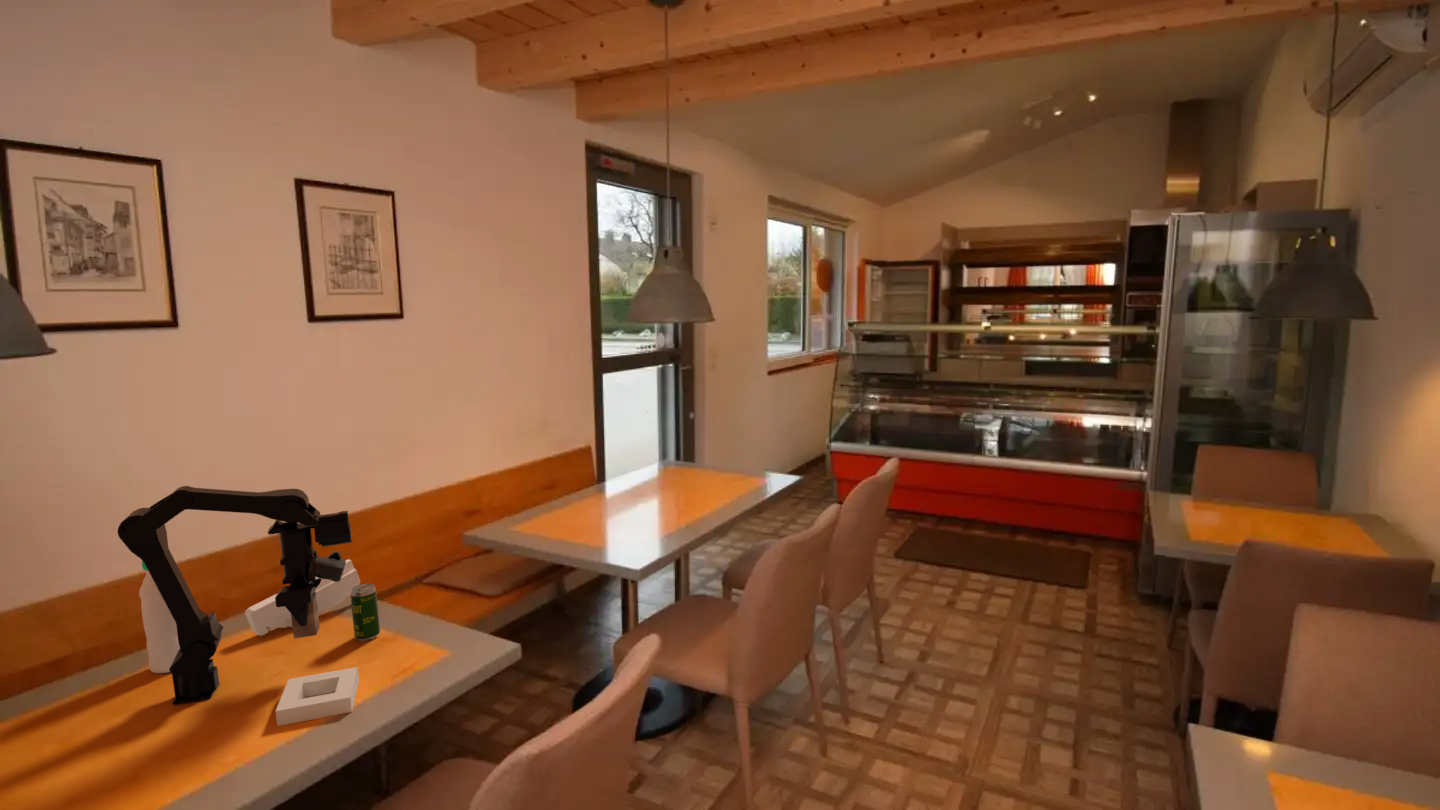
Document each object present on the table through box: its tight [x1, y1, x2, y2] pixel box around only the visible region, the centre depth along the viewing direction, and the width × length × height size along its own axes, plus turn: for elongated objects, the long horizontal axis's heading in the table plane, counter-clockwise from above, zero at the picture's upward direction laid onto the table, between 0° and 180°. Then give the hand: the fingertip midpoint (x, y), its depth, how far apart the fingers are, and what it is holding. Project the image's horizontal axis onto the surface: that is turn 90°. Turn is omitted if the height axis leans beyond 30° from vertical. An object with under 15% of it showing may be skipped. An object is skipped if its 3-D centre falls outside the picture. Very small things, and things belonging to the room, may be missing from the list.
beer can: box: [349, 583, 381, 642], centre depth 172 cm, size 5×5×12 cm
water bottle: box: [138, 560, 180, 674], centre depth 158 cm, size 7×7×25 cm
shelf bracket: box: [244, 559, 362, 637], centre depth 182 cm, size 6×25×13 cm, turn 143°
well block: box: [275, 666, 360, 727], centre depth 144 cm, size 12×12×3 cm
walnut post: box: [291, 587, 320, 640], centre depth 155 cm, size 4×4×9 cm
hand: (305, 621), depth 156 cm, fingers closed on walnut post, 4 cm apart
